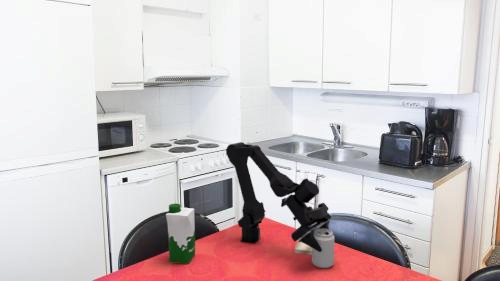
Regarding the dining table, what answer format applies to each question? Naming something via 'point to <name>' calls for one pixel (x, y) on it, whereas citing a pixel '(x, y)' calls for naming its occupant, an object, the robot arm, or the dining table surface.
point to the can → (324, 248)
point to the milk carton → (181, 234)
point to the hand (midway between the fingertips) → (326, 247)
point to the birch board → (303, 248)
